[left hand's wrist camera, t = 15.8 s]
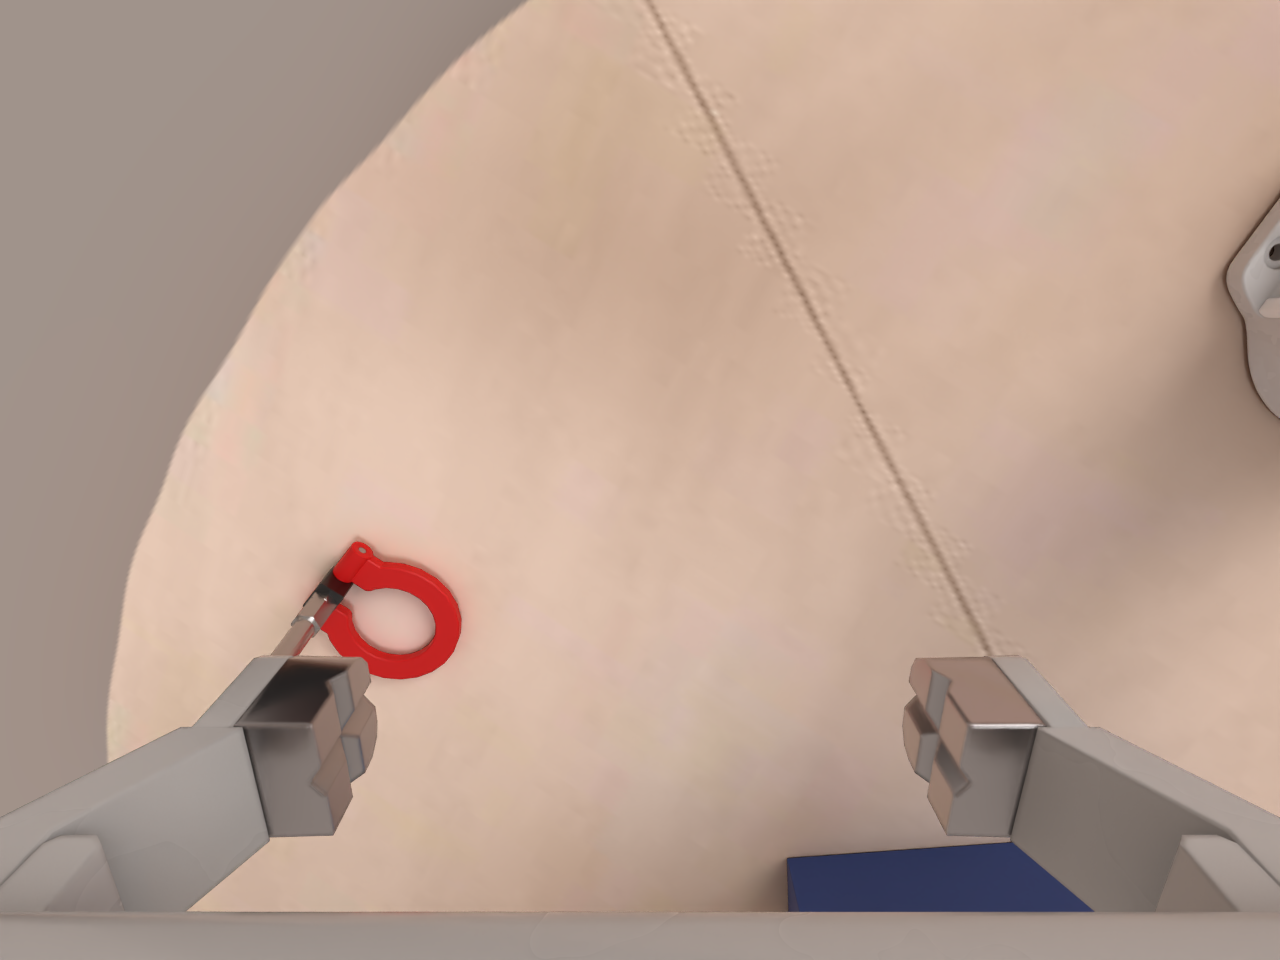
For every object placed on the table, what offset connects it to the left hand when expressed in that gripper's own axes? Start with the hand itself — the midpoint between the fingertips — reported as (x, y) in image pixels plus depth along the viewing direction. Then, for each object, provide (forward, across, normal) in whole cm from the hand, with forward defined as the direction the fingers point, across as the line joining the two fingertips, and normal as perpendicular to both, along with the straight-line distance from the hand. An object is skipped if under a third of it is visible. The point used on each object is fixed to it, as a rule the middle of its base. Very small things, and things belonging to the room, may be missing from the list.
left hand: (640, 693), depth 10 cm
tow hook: (+30, -16, -17) cm, 38 cm away
